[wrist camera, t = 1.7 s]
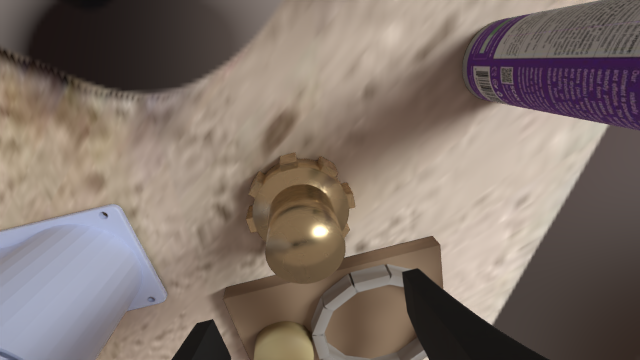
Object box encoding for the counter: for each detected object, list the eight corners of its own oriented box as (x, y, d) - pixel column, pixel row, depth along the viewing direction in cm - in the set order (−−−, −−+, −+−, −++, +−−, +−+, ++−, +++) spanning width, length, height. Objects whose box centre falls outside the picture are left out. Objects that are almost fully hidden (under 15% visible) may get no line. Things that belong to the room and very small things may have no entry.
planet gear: (265, 252, 22) (259, 317, 16) (235, 166, 19) (216, 209, 14) (356, 229, 22) (380, 286, 16) (338, 141, 19) (361, 173, 14)
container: (526, 97, 20) (1118, 187, 6) (457, 103, 19) (910, 213, 5) (541, 16, 18) (1454, -141, 4) (466, 20, 17) (1182, -137, 4)
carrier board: (266, 382, 27) (265, 415, 24) (226, 287, 22) (218, 315, 20) (440, 337, 27) (456, 365, 24) (432, 235, 23) (450, 257, 20)
